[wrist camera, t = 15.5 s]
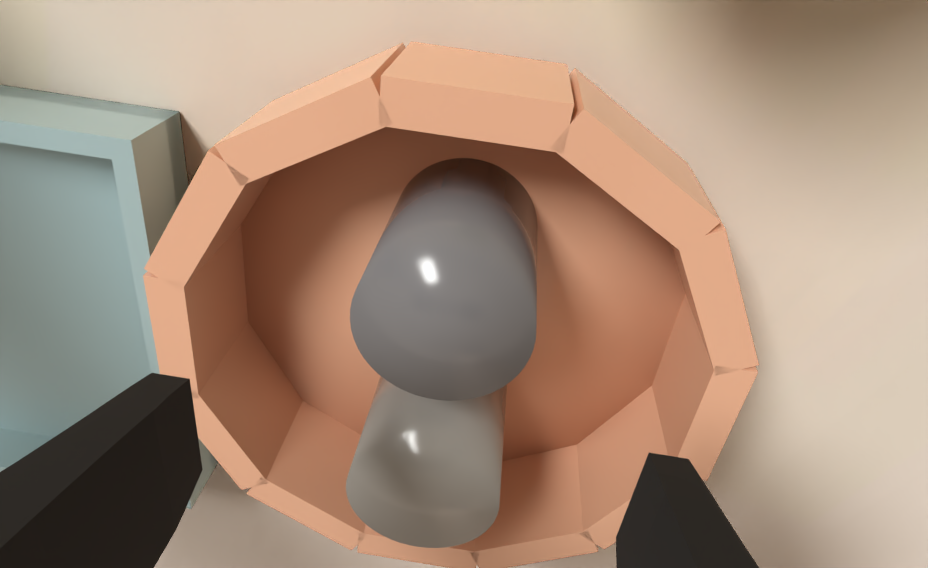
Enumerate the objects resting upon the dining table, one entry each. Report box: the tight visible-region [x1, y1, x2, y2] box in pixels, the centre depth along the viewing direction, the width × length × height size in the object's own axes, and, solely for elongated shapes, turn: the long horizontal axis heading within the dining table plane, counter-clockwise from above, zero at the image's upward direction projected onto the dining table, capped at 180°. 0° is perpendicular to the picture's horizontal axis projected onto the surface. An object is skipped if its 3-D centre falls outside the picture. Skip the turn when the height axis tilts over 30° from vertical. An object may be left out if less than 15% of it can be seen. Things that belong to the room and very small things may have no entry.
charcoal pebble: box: [350, 158, 538, 401], centre depth 16 cm, size 4×4×5 cm
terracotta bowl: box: [143, 41, 759, 568], centre depth 18 cm, size 15×15×4 cm
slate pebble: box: [346, 376, 507, 548], centre depth 18 cm, size 4×4×5 cm
